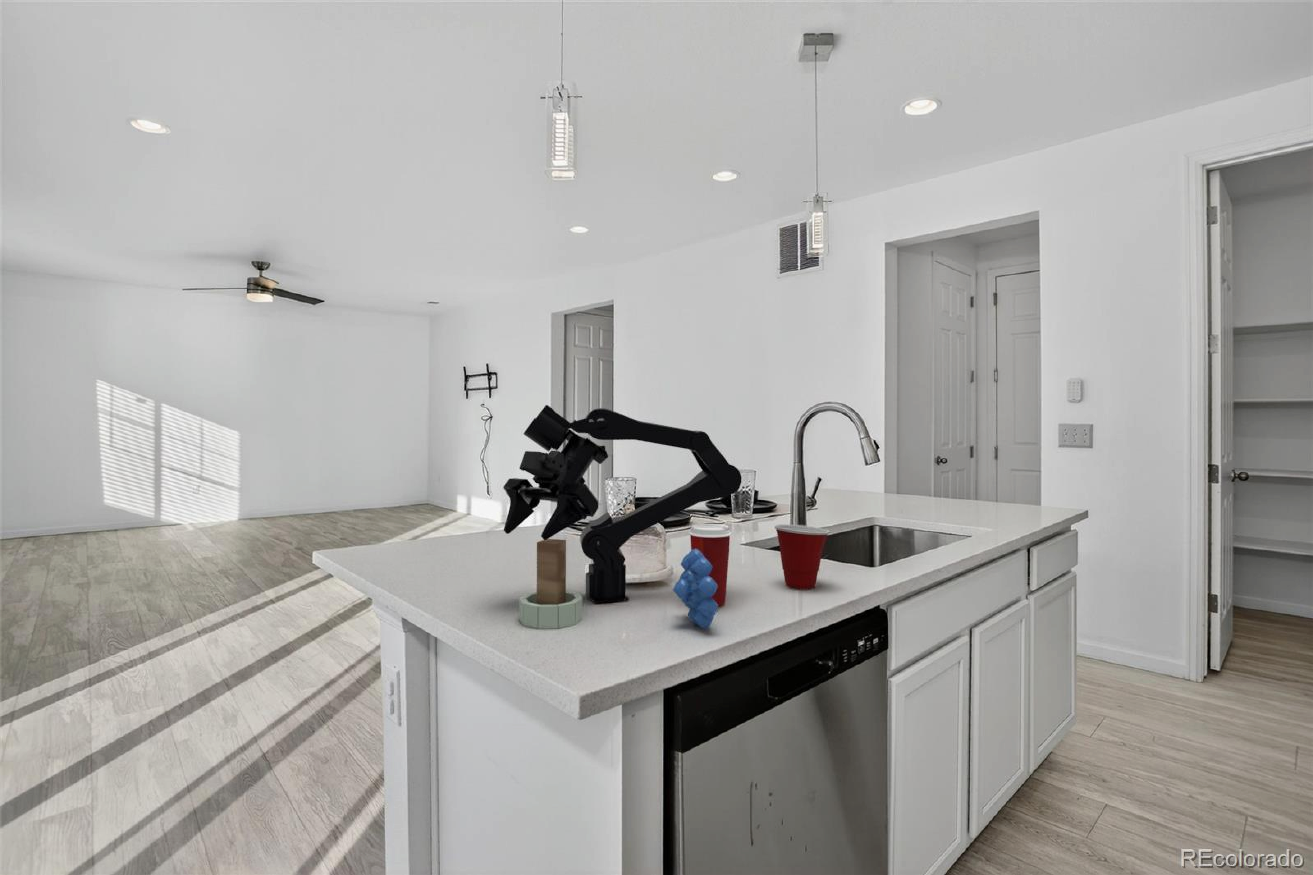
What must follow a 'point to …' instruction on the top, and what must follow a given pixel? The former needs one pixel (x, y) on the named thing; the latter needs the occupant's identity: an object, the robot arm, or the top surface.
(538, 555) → the layered tan brick
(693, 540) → the paper cup
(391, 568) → the top surface
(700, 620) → the grapes
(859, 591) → the top surface
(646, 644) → the top surface
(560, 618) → the pale green faceted bowl
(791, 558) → the plastic cup
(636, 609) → the top surface
